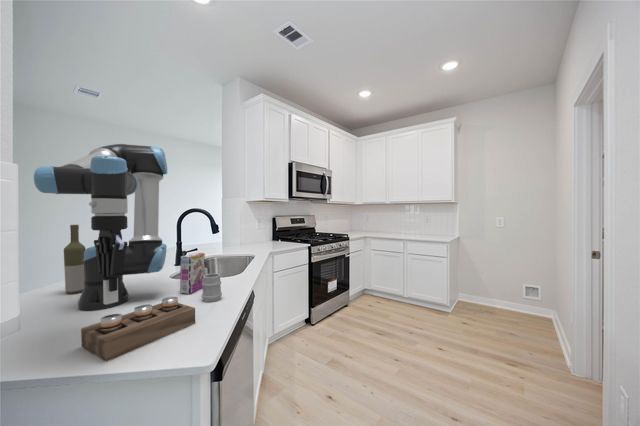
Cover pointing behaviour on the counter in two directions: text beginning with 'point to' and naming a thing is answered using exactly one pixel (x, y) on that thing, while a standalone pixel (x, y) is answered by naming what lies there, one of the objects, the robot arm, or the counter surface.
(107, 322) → the knob
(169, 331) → the wooden candle holder
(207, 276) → the mug
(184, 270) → the candy bar box
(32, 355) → the counter surface
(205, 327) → the counter surface
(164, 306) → the knob
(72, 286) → the bottle
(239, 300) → the counter surface
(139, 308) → the knob
